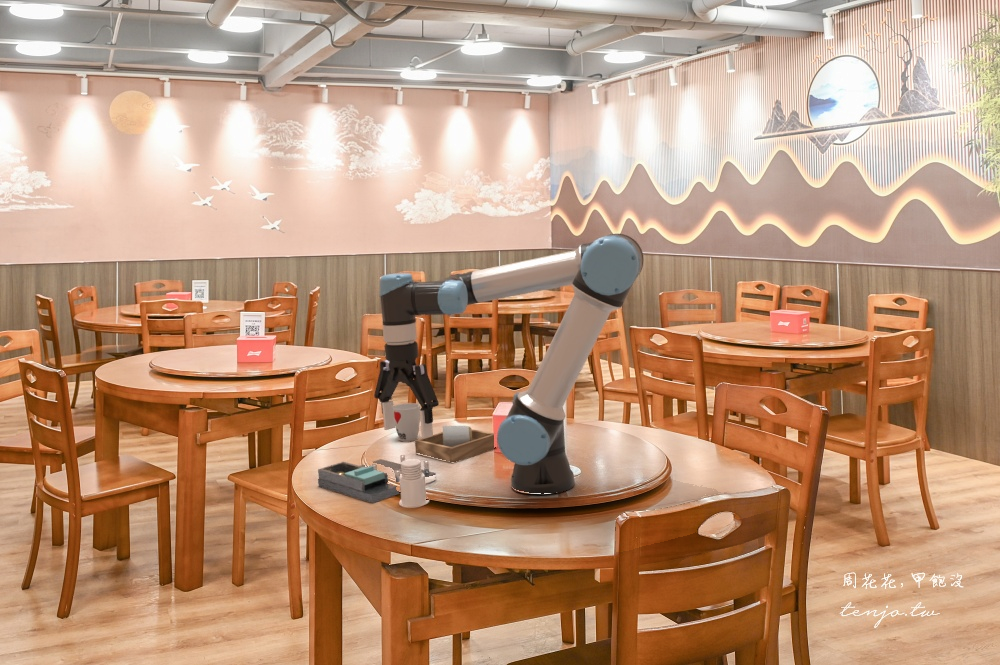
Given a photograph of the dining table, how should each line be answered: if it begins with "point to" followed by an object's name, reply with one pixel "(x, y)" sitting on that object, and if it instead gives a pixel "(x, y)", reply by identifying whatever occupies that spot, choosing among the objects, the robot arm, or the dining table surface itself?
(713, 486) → the dining table surface
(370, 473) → the cover
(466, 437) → the ceramic mug
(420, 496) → the downlight
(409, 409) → the cup
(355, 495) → the housing board
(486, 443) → the wooden caddy
